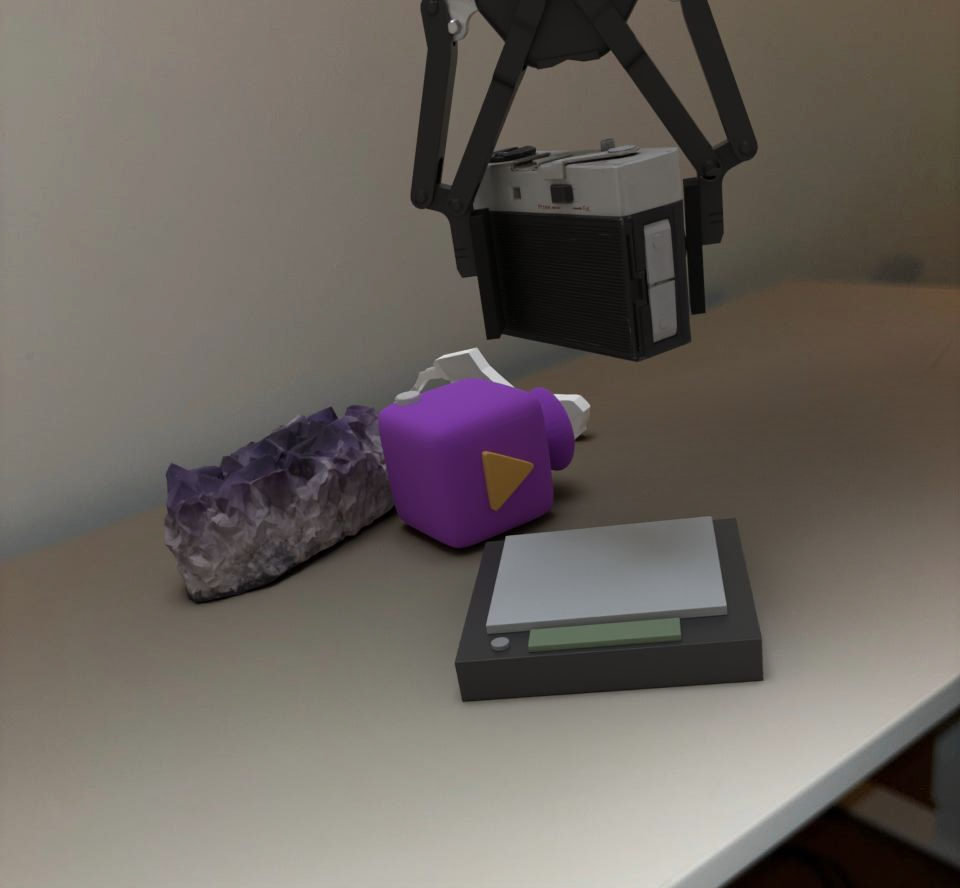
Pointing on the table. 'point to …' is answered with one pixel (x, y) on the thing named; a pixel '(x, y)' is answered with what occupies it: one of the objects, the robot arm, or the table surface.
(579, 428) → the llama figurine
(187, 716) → the table surface
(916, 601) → the table surface
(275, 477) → the geode
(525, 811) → the table surface
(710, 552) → the scale
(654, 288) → the camera
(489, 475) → the toy camera
